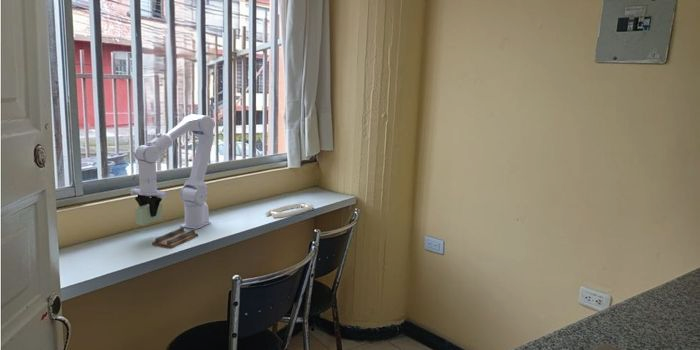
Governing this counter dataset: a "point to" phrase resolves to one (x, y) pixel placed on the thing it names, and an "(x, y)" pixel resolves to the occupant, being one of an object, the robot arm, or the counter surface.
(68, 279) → the counter surface
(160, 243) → the cabinet track
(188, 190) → the robot arm
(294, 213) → the white rectangular tray
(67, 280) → the counter surface
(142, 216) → the pale green block
